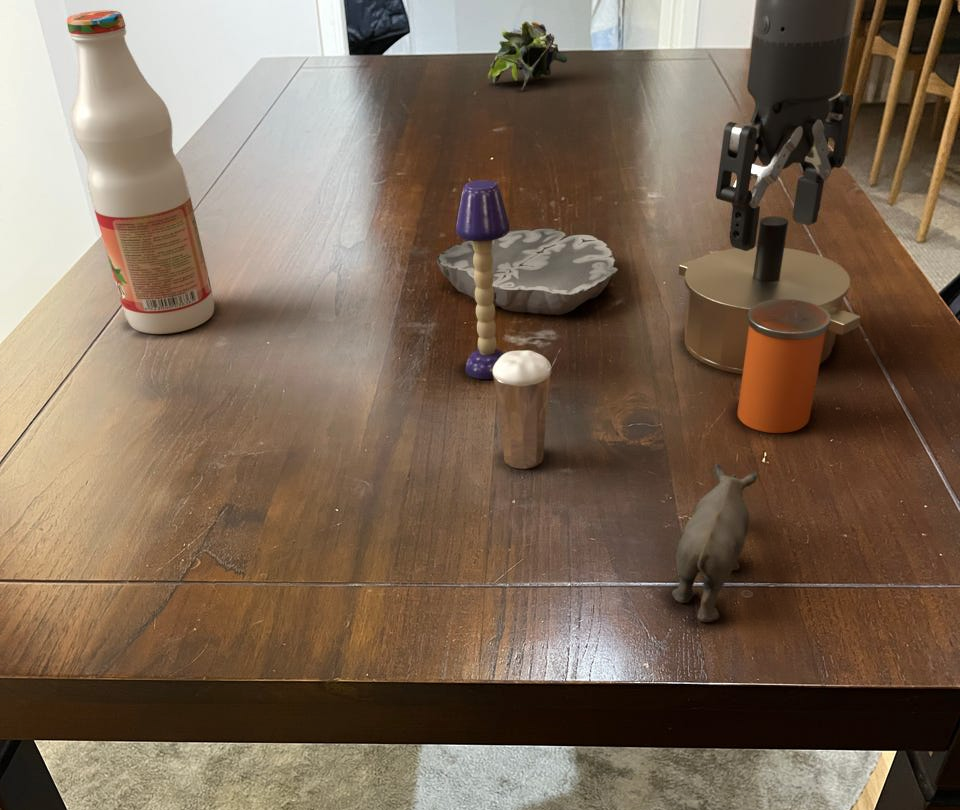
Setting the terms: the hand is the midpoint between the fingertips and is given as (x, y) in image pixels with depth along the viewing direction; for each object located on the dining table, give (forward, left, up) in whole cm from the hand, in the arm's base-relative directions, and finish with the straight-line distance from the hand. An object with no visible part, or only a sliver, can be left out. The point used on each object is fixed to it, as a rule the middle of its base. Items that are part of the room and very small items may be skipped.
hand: (773, 235), depth 90 cm
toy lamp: (+22, -14, -10) cm, 28 cm away
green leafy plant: (-50, -92, -10) cm, 105 cm away
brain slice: (+6, -26, -10) cm, 29 cm away
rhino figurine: (+30, +20, -10) cm, 37 cm away
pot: (0, 0, -10) cm, 10 cm away
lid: (0, 0, -4) cm, 4 cm away
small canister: (+10, +10, -10) cm, 18 cm away
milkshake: (+30, +1, -10) cm, 32 cm away
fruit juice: (+39, -47, -10) cm, 62 cm away
